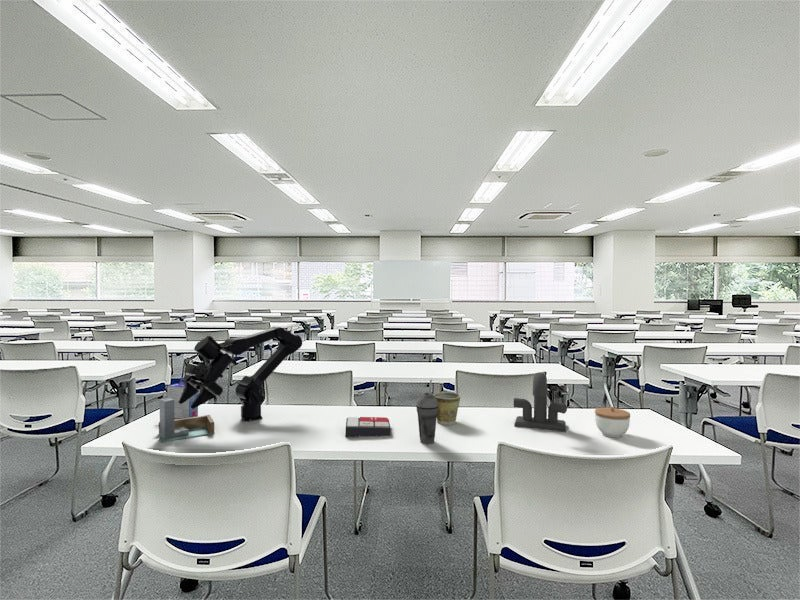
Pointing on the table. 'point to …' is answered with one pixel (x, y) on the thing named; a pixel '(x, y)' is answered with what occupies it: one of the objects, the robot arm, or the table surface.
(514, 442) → the table surface
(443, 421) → the ceramic cup
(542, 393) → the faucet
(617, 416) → the lidded jar
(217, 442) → the table surface
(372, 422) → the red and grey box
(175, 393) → the ink cartridge box
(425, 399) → the beverage cup
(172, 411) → the angle bracket
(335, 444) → the table surface
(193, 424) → the tray
